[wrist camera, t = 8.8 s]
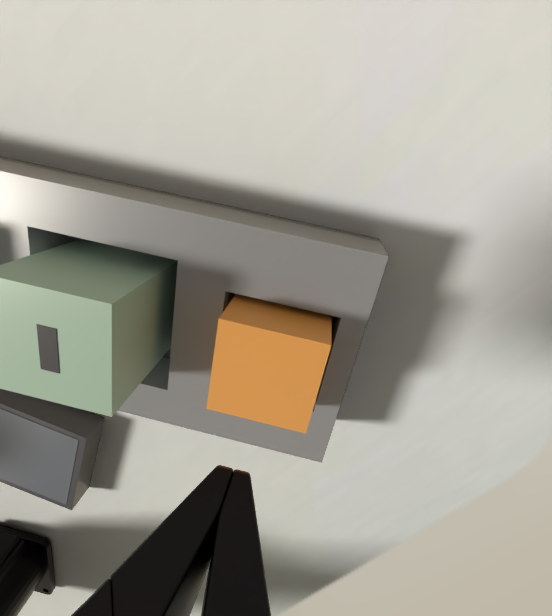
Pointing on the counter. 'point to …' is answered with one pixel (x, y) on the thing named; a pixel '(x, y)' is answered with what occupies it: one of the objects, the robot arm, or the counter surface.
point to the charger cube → (84, 323)
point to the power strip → (206, 284)
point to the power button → (269, 362)
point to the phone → (47, 447)
